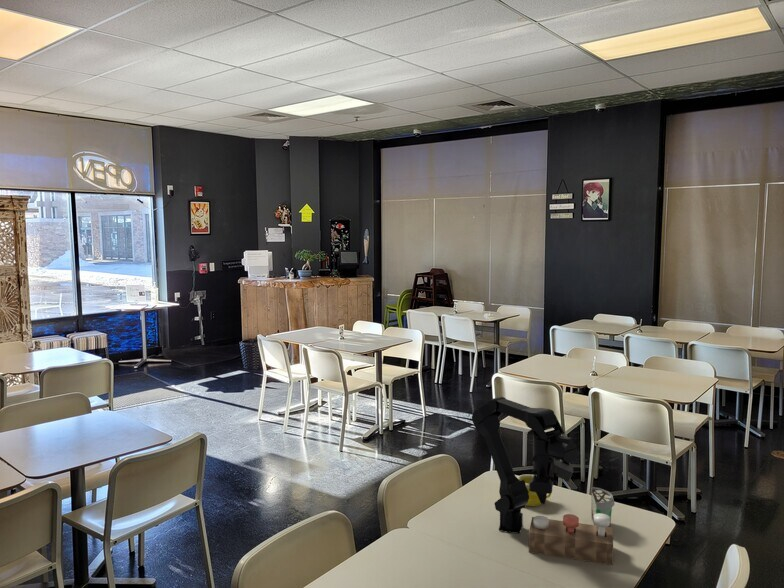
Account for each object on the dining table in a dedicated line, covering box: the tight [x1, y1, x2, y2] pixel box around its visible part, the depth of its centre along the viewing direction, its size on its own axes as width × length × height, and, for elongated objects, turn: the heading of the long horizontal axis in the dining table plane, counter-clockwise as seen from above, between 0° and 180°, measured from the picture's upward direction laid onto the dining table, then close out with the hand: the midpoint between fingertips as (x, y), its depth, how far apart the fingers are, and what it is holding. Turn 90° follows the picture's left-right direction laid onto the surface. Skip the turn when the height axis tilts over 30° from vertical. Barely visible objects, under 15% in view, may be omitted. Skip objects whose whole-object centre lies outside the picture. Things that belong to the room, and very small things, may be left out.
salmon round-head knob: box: [562, 513, 580, 533], centre depth 171 cm, size 4×4×8 cm
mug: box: [516, 474, 552, 507], centre depth 203 cm, size 13×11×12 cm
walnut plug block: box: [528, 516, 614, 566], centre depth 171 cm, size 23×10×6 cm, turn 71°
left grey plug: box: [533, 515, 550, 529], centre depth 174 cm, size 4×4×8 cm
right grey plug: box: [594, 513, 611, 537], centre depth 168 cm, size 4×4×8 cm
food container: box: [590, 486, 615, 527], centre depth 185 cm, size 12×6×10 cm, turn 168°
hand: (542, 503), depth 173 cm, fingers closed
